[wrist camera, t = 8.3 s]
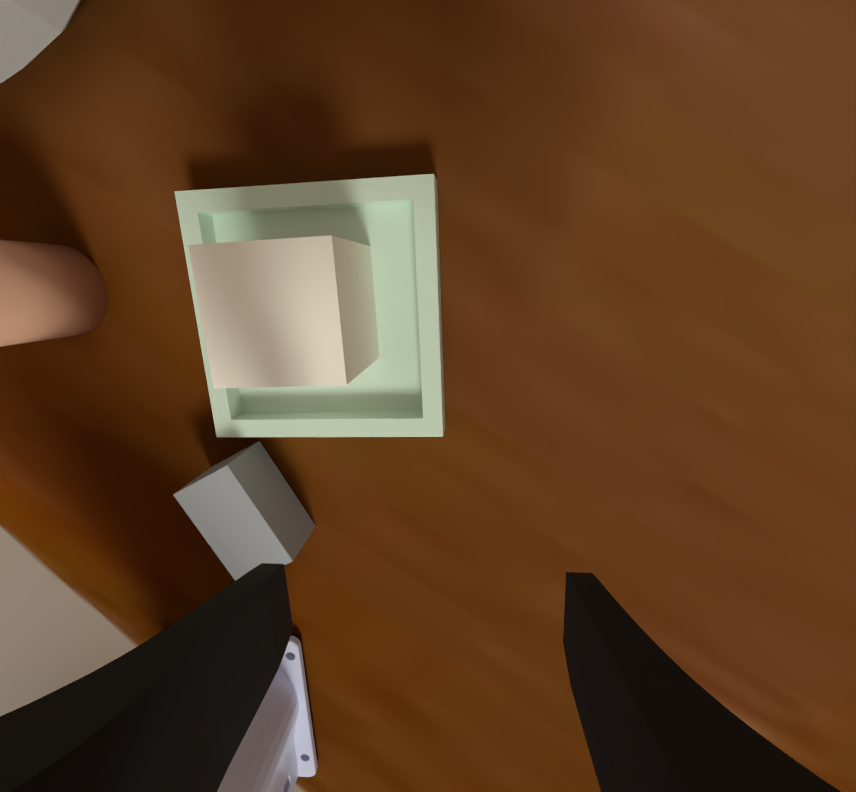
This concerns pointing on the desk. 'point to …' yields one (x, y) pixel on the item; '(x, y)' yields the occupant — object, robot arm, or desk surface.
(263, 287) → the cream block
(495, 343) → the desk surface
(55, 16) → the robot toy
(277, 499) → the slate block
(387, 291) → the tray
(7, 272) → the pink rounded capsule
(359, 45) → the desk surface
